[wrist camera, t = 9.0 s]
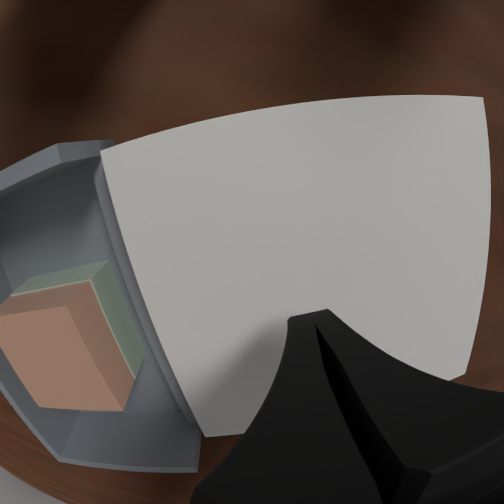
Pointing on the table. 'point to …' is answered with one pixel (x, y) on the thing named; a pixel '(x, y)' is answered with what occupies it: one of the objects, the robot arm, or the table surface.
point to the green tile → (108, 301)
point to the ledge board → (307, 237)
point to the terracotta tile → (65, 349)
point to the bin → (113, 248)
